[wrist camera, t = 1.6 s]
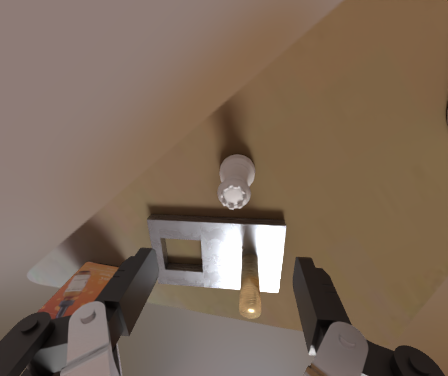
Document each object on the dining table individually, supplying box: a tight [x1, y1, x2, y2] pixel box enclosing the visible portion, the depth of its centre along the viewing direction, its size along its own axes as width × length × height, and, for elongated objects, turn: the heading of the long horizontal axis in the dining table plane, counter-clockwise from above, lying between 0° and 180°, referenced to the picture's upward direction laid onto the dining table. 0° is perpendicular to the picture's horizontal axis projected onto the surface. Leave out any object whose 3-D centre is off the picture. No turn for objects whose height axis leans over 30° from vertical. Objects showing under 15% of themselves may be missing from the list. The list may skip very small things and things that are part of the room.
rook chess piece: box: [217, 154, 255, 210], centre depth 24 cm, size 4×4×8 cm
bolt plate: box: [147, 214, 286, 319], centre depth 28 cm, size 19×12×10 cm, turn 91°
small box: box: [38, 262, 119, 319], centre depth 33 cm, size 8×6×10 cm
